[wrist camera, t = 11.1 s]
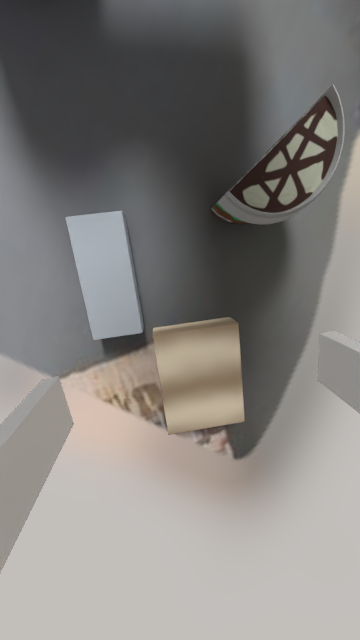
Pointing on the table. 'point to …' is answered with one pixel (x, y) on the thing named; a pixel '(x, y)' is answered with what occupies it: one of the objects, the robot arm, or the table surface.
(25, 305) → the table surface
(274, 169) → the food container
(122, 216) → the light gray rectangular block
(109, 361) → the table surface
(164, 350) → the gold metallic plate
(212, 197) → the table surface
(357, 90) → the table surface
